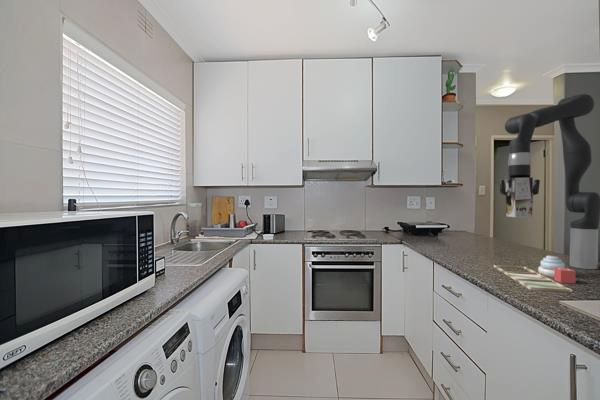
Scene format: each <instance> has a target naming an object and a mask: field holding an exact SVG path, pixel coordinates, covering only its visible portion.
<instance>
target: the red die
mask: <svg viewBox="0 0 600 400" xmlns="http://www.w3.org/2000/svg"><path fill="white" fill-rule="evenodd" d="M576 273H577V272H576V270H573V269H570V268H568V267H567V268H566V267H565V268H554V277H553V278H554V279H553V281H555V282H557V283H559V284H561V283H562V284H576Z"/></svg>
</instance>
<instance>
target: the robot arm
mask: <svg viewBox="0 0 600 400" xmlns="http://www.w3.org/2000/svg"><path fill="white" fill-rule="evenodd" d="M594 106H595V101H594V99H593V97H592V96H591V95H590V94H587V93H583V94H582V93H579V94H577V95H572V96H568V97H564V98H562V99H560V100H559V101H558V102H557V104H556V105H551V106H547V107H542V108H540V109H536V110H533V111H531V112H528V113H524V114H519V115H517V116H513V117H510V118H508V119H507V120H506V122H505V123H504V130H505V131H506V132H507V133H508V134H510V135H517V136H516V138H513V139H511V140H510V141H509V148H508V152H509V154H508V155H509V156H508V159H507V160H508V166H507V167H508V168H507V169H508V170H507V172H508V175H507V177H508V178H506V179H507V180H506V179H500V180H499V194H500V195H503V196H505V204H507V205H511V196H510V195H511V191H512V187H511V188H508V190H507V192H506V183H508V184H509V185H511V183H512V178H523V177H531V169H532V167H531V165H532V164H531V163H532V160H531V141H532V138H533V135H534V132H535V129H537V128H540V127H543V126H547V125H549V124H552V123H554V122H557V121H558V123H559V125H558V126H559V128H560V134H561V143H562V155H563V156H562V157H563V164H564V173H565V207H566V209H567V210H568V211H569V212H570V213H575V214H576V213H577V214H578V213H579V214H583V213H584V215H583V217H581V218H579V219H575V220H572V221H571V222H570V225H569V227H570V230H569V234H570V235H569V240H570V241H569V266H570V267H573V268H577V269H582V270H583V269H585V270H597V269H598V268H599V267H598V266H599V224H600V194H599V193H598V192H594V191H580V182H581V179H582V178H583V176H584V174H585V173H586V172H587V170H588V169H589V167H590V165H591V163H592V160H593V159H592V149H591V145H590V143H589V142H588V141H587V140H586V138H585V137H584V136H583V135H582V134H581V133H580V132H579V131H578V129H577V126H576V122H575V118H580V117H583V116H586V115H589V114H590V113H591V112H592V111H593V110H594ZM540 180H541V179H533V195H532V204H533V201H534V197H533V196H536V195H539V193H540V183H541V181H540Z"/></svg>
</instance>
